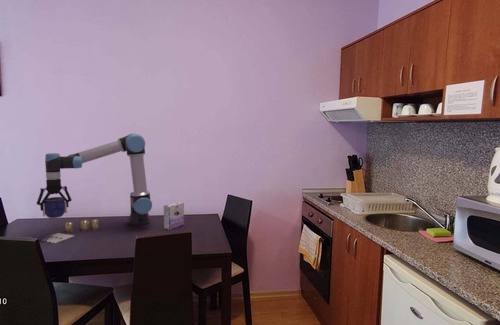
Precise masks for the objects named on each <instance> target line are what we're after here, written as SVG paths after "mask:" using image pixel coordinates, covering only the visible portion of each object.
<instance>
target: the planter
mask: <svg viewBox="0 0 500 325" xmlns="http://www.w3.org/2000/svg"><path fill="white" fill-rule="evenodd" d="M65 198H66V197H65ZM65 198H62V197H61V196H55V197H48V198H47V200H45V203H44V204H43V205H45V217H47V218H48V219H56V218H61V217H63V216H64V214H66V213H65V202H66V201H65Z"/></svg>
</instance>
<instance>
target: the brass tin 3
mask: <svg viewBox="0 0 500 325" xmlns="http://www.w3.org/2000/svg"><path fill="white" fill-rule="evenodd" d="M98 228H99V219H98V218H95V219H94V218H93V219H92V220H91V229H92V230H93V229H95V230H99V229H98Z"/></svg>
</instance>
